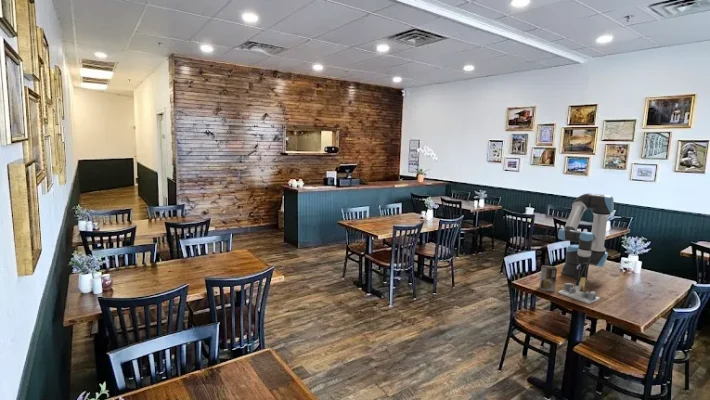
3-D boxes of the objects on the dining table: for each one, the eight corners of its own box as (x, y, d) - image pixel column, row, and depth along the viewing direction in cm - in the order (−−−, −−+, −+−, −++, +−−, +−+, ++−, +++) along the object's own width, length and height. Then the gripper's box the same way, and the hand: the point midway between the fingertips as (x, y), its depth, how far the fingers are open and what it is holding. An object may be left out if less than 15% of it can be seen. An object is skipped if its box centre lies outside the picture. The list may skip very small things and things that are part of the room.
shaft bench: (557, 293, 263) (558, 285, 262) (568, 289, 271) (569, 281, 270) (589, 303, 247) (590, 295, 246) (599, 299, 254) (600, 291, 254)
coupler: (581, 292, 254) (583, 278, 253) (573, 289, 258) (575, 276, 257) (585, 290, 257) (587, 277, 256) (577, 287, 261) (578, 275, 260)
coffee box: (553, 288, 271) (555, 266, 268) (554, 291, 265) (557, 269, 262) (539, 286, 274) (541, 264, 271) (540, 289, 268) (542, 267, 265)
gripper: (582, 259, 246) (578, 293, 250) (596, 255, 256) (592, 288, 260) (570, 255, 252) (566, 289, 256) (584, 252, 262) (580, 285, 266)
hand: (579, 289), depth 258 cm, fingers closed on coupler, 5 cm apart
